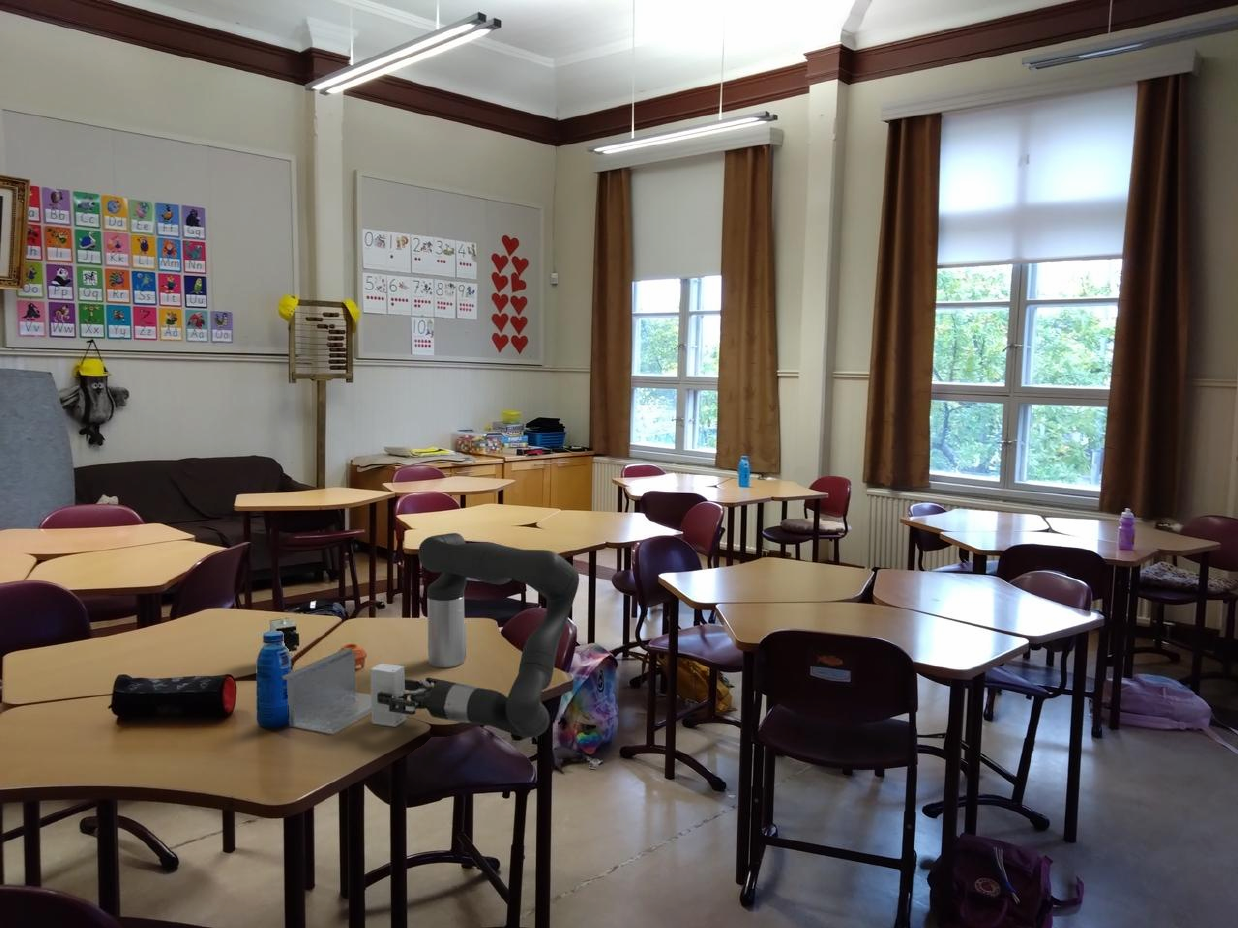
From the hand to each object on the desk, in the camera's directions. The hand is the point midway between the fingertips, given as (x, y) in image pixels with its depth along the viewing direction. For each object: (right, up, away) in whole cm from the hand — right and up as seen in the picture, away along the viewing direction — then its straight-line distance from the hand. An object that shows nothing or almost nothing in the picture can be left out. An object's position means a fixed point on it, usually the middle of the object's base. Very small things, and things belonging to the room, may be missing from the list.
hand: (390, 690), depth 187 cm
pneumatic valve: (-36, -3, +36) cm, 51 cm away
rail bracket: (-13, -6, +6) cm, 15 cm away
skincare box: (-1, -7, +1) cm, 7 cm away
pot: (-19, -3, +34) cm, 39 cm away
